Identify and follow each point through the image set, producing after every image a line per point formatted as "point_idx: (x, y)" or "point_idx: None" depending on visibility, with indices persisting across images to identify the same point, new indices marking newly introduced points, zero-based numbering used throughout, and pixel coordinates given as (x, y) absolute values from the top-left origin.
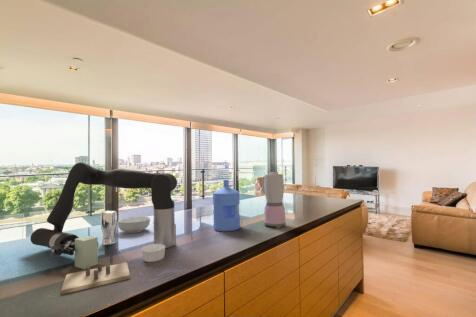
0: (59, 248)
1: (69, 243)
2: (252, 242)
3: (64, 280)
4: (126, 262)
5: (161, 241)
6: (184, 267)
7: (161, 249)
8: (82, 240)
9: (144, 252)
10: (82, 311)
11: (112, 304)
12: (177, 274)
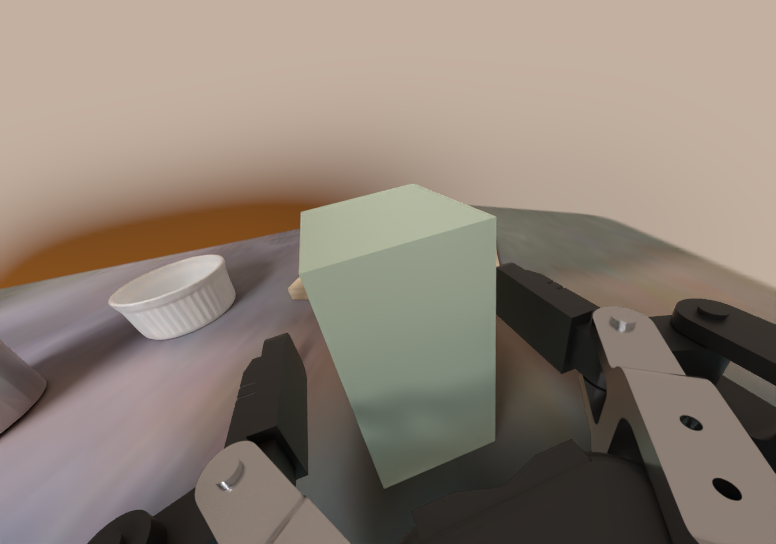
0: (699, 307)
1: (642, 410)
2: (26, 288)
3: (496, 251)
4: (290, 286)
5: (11, 355)
6: (240, 248)
7: (189, 258)
8: (417, 188)
9: (223, 268)
10: None
11: None
12: (276, 236)
